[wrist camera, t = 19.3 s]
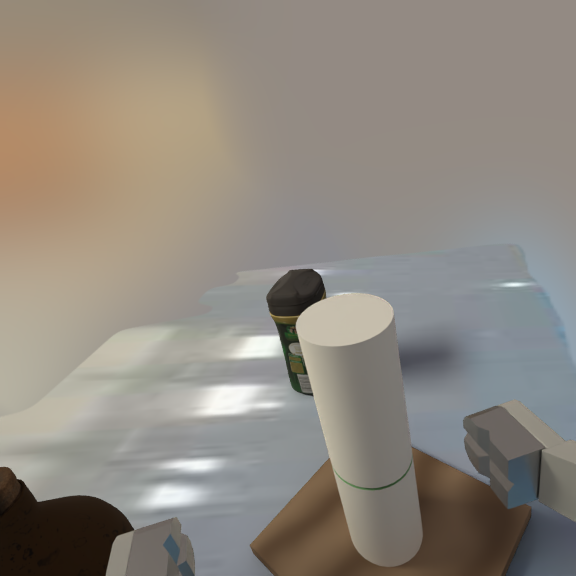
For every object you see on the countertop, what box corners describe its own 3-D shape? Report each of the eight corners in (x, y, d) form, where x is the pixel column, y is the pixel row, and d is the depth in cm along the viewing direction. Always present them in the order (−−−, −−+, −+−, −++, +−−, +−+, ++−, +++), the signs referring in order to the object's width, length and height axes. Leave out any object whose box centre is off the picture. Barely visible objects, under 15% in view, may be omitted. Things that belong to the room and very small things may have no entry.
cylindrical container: (409, 489, 42) (380, 286, 31) (433, 560, 35) (406, 333, 25) (344, 501, 42) (294, 304, 32) (356, 572, 36) (297, 355, 25)
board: (253, 553, 41) (249, 545, 40) (363, 430, 52) (362, 421, 52) (431, 742, 27) (430, 733, 26) (530, 516, 38) (531, 507, 37)
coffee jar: (303, 358, 70) (279, 265, 62) (346, 359, 67) (326, 262, 59) (285, 396, 62) (255, 295, 54) (333, 399, 59) (307, 293, 51)
